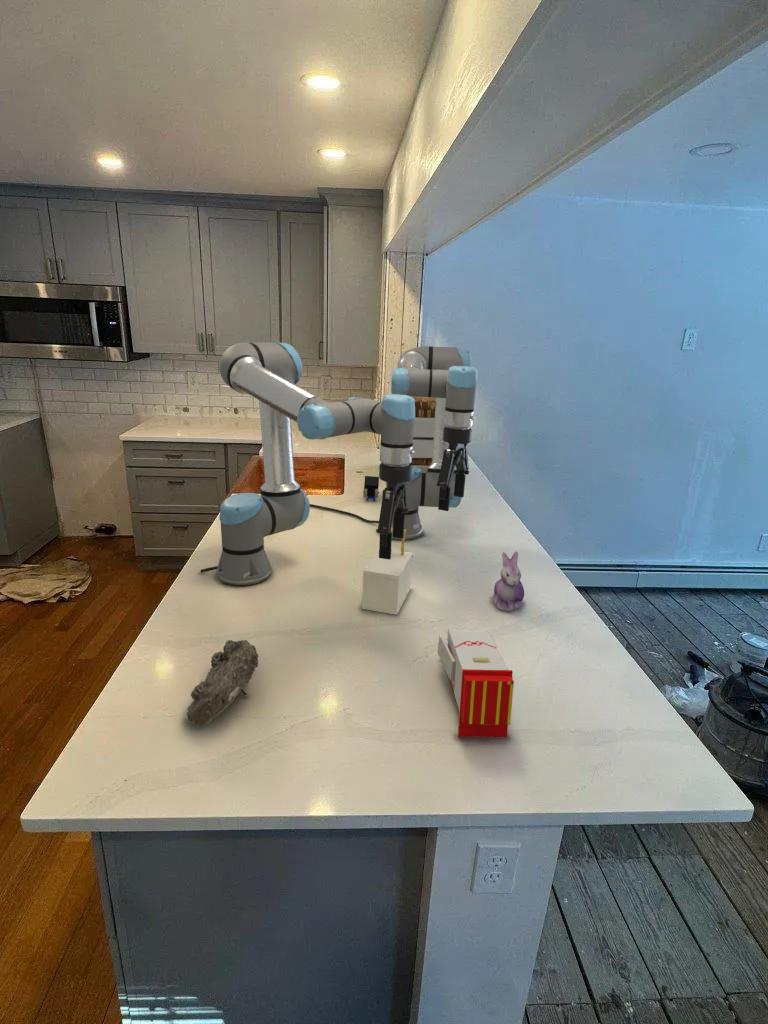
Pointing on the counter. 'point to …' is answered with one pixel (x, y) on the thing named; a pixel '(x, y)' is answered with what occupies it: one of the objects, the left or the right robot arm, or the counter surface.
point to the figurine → (509, 585)
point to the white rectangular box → (389, 563)
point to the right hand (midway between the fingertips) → (451, 503)
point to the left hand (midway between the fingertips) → (391, 547)
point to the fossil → (223, 681)
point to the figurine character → (371, 487)
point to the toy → (478, 682)
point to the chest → (385, 592)
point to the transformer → (423, 431)
